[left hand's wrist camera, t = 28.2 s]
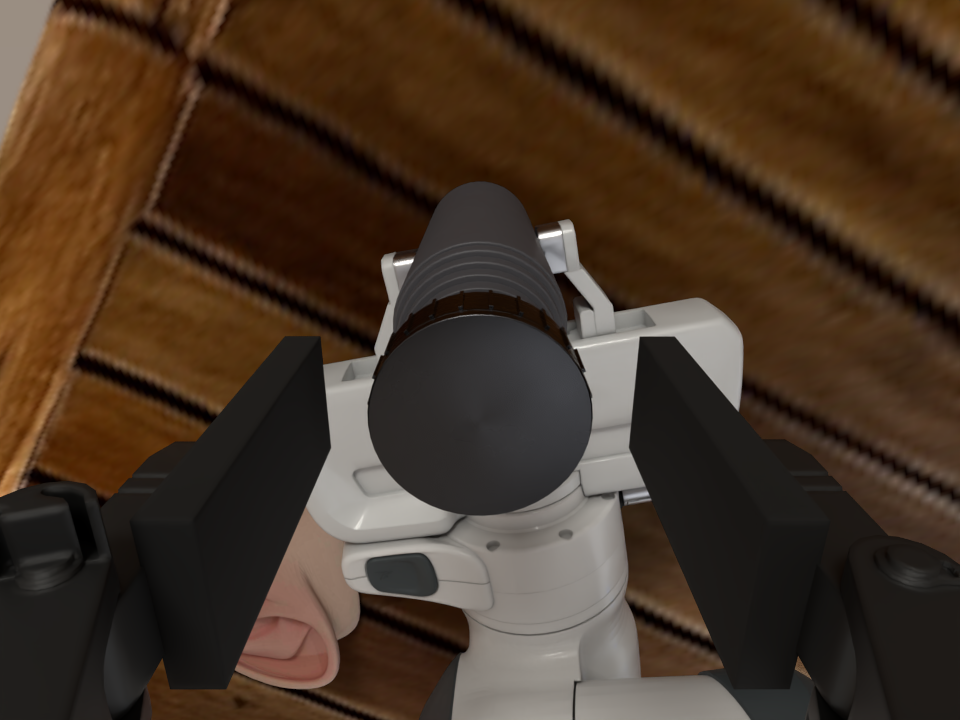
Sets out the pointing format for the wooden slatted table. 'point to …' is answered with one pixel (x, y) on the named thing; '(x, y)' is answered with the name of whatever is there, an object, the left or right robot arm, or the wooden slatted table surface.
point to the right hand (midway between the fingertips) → (474, 239)
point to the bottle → (480, 254)
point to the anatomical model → (303, 614)
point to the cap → (480, 405)
